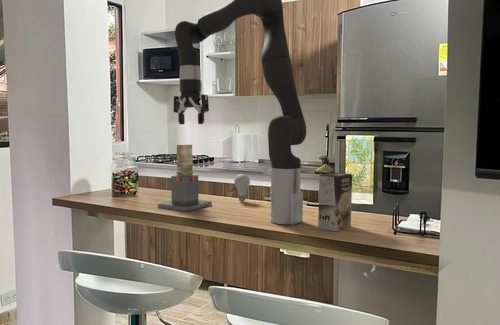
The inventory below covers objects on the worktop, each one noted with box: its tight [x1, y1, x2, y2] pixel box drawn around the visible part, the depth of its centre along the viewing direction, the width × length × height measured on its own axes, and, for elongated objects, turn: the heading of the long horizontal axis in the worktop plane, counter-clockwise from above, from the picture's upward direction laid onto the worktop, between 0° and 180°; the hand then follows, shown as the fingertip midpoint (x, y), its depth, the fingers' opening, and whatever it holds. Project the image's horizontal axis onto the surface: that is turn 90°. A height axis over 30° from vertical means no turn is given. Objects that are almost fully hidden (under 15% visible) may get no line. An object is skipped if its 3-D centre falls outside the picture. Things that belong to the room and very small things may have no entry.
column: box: [176, 143, 194, 177], centre depth 166 cm, size 4×4×16 cm
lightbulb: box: [233, 173, 251, 203], centre depth 176 cm, size 6×6×11 cm
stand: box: [157, 174, 213, 213], centre depth 167 cm, size 14×14×12 cm
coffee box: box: [317, 172, 353, 232], centre depth 134 cm, size 9×6×16 cm
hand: (191, 124), depth 164 cm, fingers open, 8 cm apart
